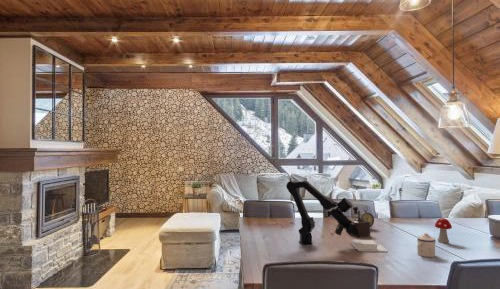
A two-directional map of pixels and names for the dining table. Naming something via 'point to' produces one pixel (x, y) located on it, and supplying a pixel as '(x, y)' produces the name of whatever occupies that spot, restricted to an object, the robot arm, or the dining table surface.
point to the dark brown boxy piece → (361, 224)
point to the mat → (379, 249)
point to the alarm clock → (367, 217)
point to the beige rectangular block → (364, 244)
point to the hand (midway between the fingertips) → (359, 236)
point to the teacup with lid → (426, 245)
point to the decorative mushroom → (443, 230)
